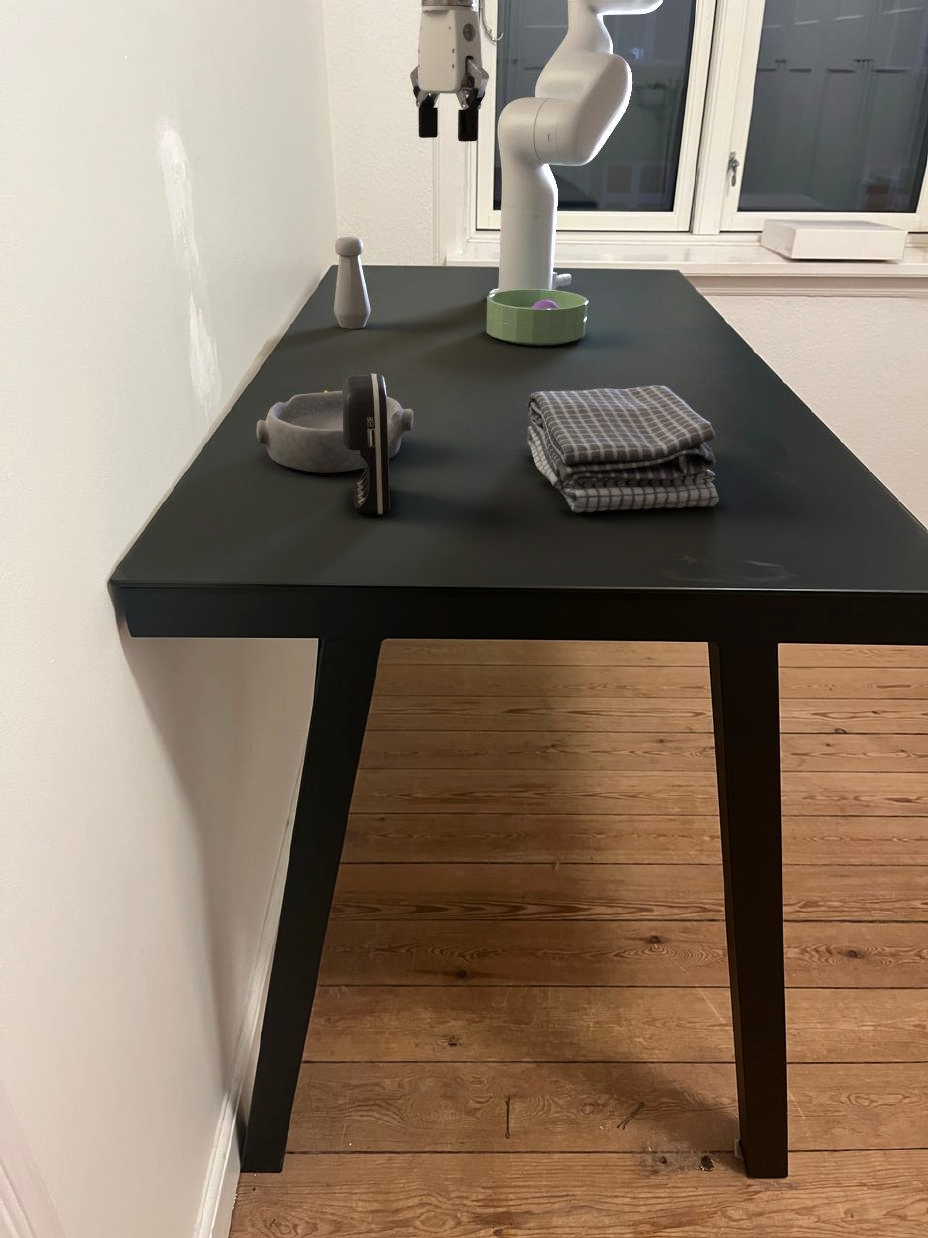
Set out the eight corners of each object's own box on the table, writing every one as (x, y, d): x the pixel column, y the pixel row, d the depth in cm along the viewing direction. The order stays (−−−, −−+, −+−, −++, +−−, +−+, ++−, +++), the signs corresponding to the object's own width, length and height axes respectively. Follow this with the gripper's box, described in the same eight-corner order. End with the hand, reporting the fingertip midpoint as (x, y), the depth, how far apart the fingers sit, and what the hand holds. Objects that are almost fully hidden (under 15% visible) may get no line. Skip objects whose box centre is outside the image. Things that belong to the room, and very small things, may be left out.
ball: (541, 310, 142) (559, 291, 138) (554, 338, 142) (573, 320, 137) (517, 314, 139) (534, 294, 135) (530, 342, 139) (548, 324, 135)
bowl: (539, 320, 150) (541, 285, 148) (605, 338, 140) (608, 301, 137) (466, 332, 142) (466, 295, 140) (530, 352, 132) (532, 313, 129)
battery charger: (346, 488, 87) (340, 369, 81) (386, 487, 88) (382, 368, 82) (347, 519, 81) (340, 392, 75) (390, 517, 82) (386, 391, 76)
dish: (425, 444, 98) (424, 398, 96) (359, 488, 87) (356, 438, 85) (311, 423, 103) (308, 380, 101) (235, 463, 92) (229, 415, 90)
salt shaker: (374, 322, 147) (371, 235, 140) (367, 330, 142) (364, 241, 136) (338, 320, 148) (334, 234, 141) (330, 329, 143) (325, 239, 136)
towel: (656, 444, 99) (665, 372, 95) (721, 512, 84) (735, 429, 80) (519, 449, 97) (522, 376, 93) (560, 520, 82) (566, 435, 78)
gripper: (509, -2, 122) (504, 142, 131) (433, 3, 134) (433, 135, 143) (465, -6, 118) (463, 143, 127) (391, 0, 130) (393, 136, 139)
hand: (447, 139), depth 135 cm, fingers open, 9 cm apart
